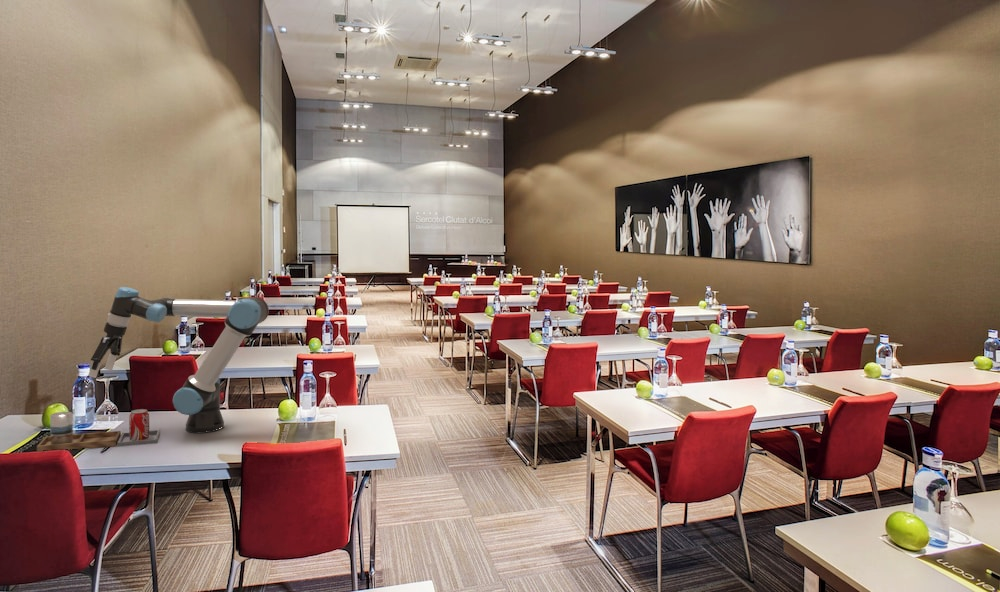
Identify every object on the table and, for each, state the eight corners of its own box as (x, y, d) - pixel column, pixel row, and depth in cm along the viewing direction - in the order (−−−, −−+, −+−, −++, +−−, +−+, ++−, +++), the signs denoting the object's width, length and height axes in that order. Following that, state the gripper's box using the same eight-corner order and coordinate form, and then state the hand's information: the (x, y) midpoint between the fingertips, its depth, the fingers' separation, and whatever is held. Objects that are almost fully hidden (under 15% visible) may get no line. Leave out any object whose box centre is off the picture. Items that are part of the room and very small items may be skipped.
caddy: (120, 436, 253) (120, 430, 253) (116, 446, 241) (116, 440, 241) (45, 442, 243) (45, 436, 242) (36, 452, 231) (36, 446, 231)
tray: (159, 433, 259) (159, 430, 259) (157, 443, 247) (157, 439, 247) (122, 436, 254) (122, 432, 254) (117, 446, 241) (117, 442, 241)
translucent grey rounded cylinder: (74, 441, 244) (74, 411, 243) (70, 446, 238) (70, 415, 237) (52, 442, 241) (52, 412, 240) (48, 448, 235) (48, 417, 234)
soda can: (140, 443, 246) (140, 413, 245) (124, 441, 248) (124, 412, 247) (153, 438, 253) (153, 409, 252) (138, 436, 255) (138, 408, 254)
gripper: (121, 317, 262) (105, 363, 263) (92, 325, 237) (74, 377, 238) (139, 323, 263) (123, 369, 264) (112, 331, 239) (94, 382, 240)
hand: (100, 373), depth 251 cm, fingers open, 13 cm apart
